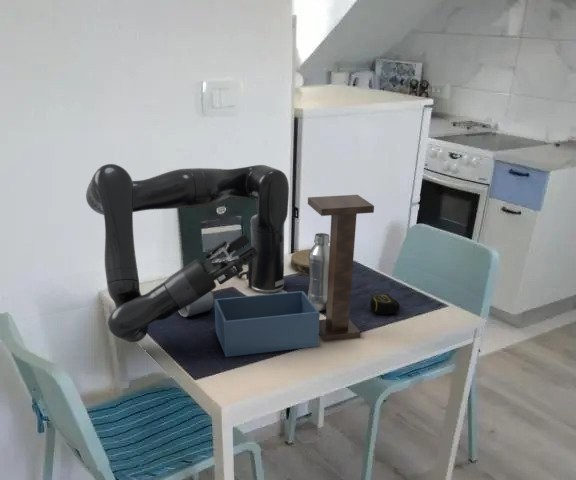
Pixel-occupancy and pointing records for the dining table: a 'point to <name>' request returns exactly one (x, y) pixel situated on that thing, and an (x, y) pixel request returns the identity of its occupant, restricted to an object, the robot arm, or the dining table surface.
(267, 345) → the blue open rectangular box
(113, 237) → the robot arm
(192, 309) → the ceramic mug
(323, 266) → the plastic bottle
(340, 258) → the shelf stand
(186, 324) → the dining table surface
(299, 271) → the brown flat round disc
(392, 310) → the tape measure
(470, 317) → the dining table surface
